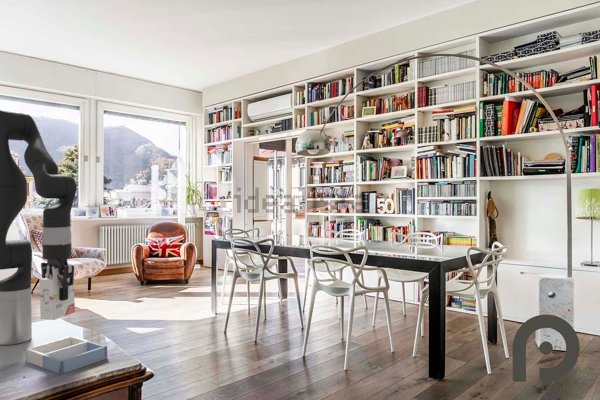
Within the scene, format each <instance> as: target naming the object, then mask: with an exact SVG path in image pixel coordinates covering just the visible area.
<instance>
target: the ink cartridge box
mask: <svg viewBox="0 0 600 400" xmlns="http://www.w3.org/2000/svg"><path fill="white" fill-rule="evenodd" d="M68 265H69V264H68ZM71 265H72V264H70V265H69V266H71ZM52 272H53V277H52V276H51V277H47V278H43V279H42V278H39V305H40V306H39V309H40V310H39V311H40V314H39V315H40V320H48V321H49V320H50V321H55V320H57V319H61V318H64V317H66V316H68V315H71V314H74V313H75V312H76V311H75V310H76V308H75V307H76V305H75V279H74V280H73V285H71V286H69V287H68V299H67V300H64V301H60V300H59V288H60V287H59V281H58V280H57V275H58V274H59V271H58V268H56V269H53V270H52ZM59 277H63V275H60V274H59ZM68 280H69V281H70V278H68ZM62 283H63V280H62Z"/></svg>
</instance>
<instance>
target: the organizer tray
mask: <svg viewBox="0 0 600 400" xmlns="http://www.w3.org/2000/svg"><path fill="white" fill-rule="evenodd" d="M106 359H108V346H107V345H104V344H101V343H97V342H94V341H90V340H87V339H83V338H80V337H77V336H74V335H71V336H67V337H63V338H60V339H57V340H53V341H49V342H45V343H42V344H39V345H36V346H31V347H28V348H25V362H27V363H29V364H33V365H35V366H37V367H40V368H43V369H46V370H48V371H51V372H53V373H56V374H58V375H63V374H66V373H69V372H72V371H75V370H78V369H80V368H84V367H86V366H89V365H93V364H95V363H98V362H101V361H103V360H106Z"/></svg>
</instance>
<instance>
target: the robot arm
mask: <svg viewBox="0 0 600 400" xmlns="http://www.w3.org/2000/svg"><path fill="white" fill-rule="evenodd" d="M9 141H19V142H21V141H24V142H25V143H26V144H27V147H26V148H25V151H24V154H23V160H24V162H25V165H26V167H27V168H28V169H29V171H30V172H31V174H32V177H33V181H34V185H35V186H34V188H35V191H36V194H37V195H38V196H39V197H41V198H43V199H49V200H51V199H58V201H57V203H56V204H55V205H53V206H48V207H45V208H44V209H43V212H42V227H43V228H42V233H41V234H42V235H41V236H42V237H41V239H42V240H41V241H42V242H41V243H42V245H41V246H42V247H41V249H42V250H41V251H42V256H41V257H42V259H43V260H46V261H45V262H41V263H40V267H41V270H40V271H41V277H42V278H41V279H43V278H47V277H51V276H52V277H53V272H52V270H53V269H56V268H58V271H59V274H60V275H63V277H59V274H58V275H57V280H58V281H59V287H60V288H59V300H60V301H64V300H67V299H68V287H69V286H71V285H73V280H74V281H75V265H74V264H70V265H71V266H69V262H68V259H69V258H71V257H72V255H73V254H72V253H73V252H72V251H73V249H72V231H71V211H72V208H73V204H74V200H75V198H76V197H75V196H76V194H77V190H78V189H77V186H78V185H77V183H76V180H75V179H74V177H72V175H67V174H58V173H59V166H58V165H57V163H56V162H55V160H54V158H52V156H51V154H50V153H49V151H48V150H47V148H46V145H45V144H44V141H43V138H42V136H41V133H40V131H39V128H38V127H37V124H36V121H35V119H34V118H33V117H32V116H31V114H28V113H26V112H21V111H12V110H6V109H0V271H1V270H10V269H17V270H16V271H15V272H14V273H13V274H11V275H10V276H8V277H6V278H3V279H1V280H0V345H3V346H10V345H11V346H12V345H18V344H22V343H25V342H28V341H30V340H31V339H32V338H33V337H32V336H33V333H32V332H33V331H32V329H33V328H32V326H33V324H32V323H33V322H32V268H33V267H32V265H33V263H32V262H33V248H32V243H31V242H30V241H29V240H28V239H15V240H12V239H11V240H7V235H8V232H9V229H10V227H11V226H12V224H13V222H14V221H15V219H16V218H17V217H18V215H19V214H20V212H21V211H22V210H23V209H24V207H25V205H26V204H27V202H28V180H27V178H26V176H25V174H24V172H23V171H22V170H21V167H19V165H18V164H17V162H16V161H15V159H14V158H13V156H12V153H11V149H10V144H9ZM68 278H70V281H69V280H68ZM62 280H63V283H62Z"/></svg>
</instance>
